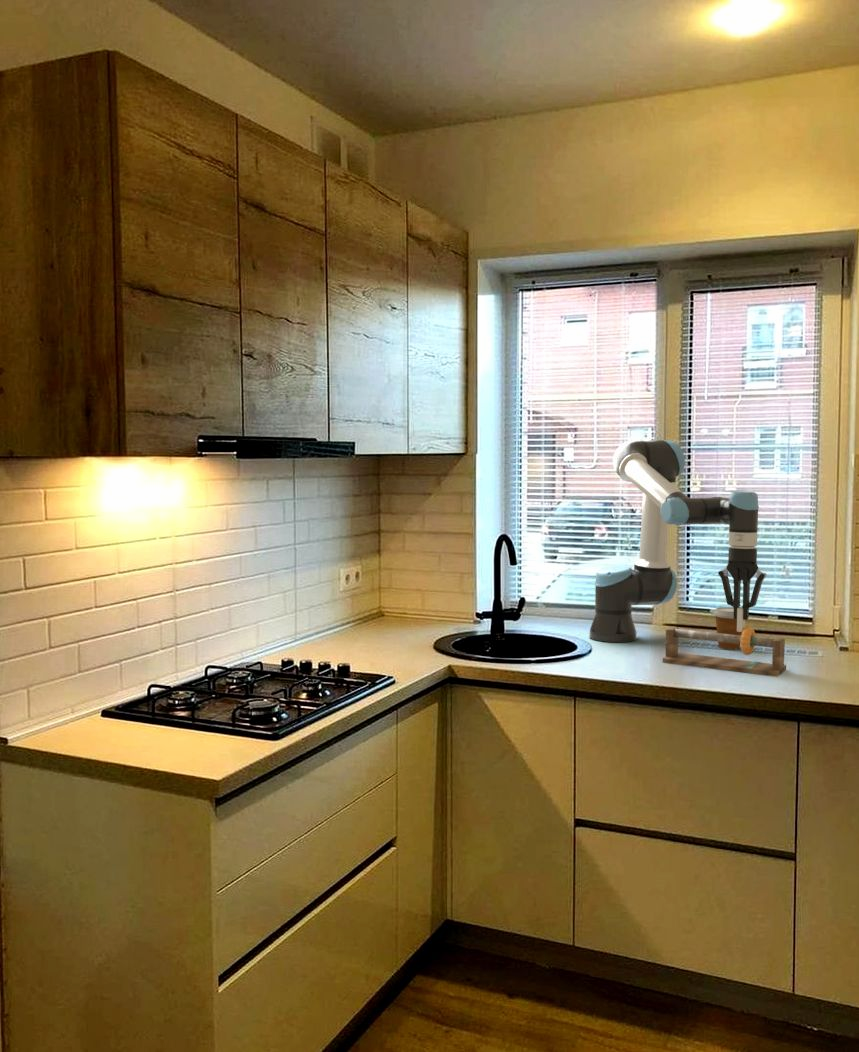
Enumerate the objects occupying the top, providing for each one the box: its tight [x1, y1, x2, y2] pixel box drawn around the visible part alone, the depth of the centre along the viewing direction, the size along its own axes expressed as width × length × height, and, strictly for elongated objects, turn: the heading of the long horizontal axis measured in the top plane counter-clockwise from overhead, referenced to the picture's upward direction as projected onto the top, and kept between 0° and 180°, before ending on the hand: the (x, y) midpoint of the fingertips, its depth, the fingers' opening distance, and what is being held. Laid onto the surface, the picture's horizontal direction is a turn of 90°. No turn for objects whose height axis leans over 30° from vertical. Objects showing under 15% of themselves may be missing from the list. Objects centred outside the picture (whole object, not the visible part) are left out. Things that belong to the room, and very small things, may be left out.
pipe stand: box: [661, 626, 787, 677], centre depth 266 cm, size 32×10×9 cm, turn 56°
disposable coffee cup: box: [713, 606, 742, 650], centre depth 292 cm, size 10×10×12 cm
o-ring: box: [740, 626, 756, 656], centre depth 262 cm, size 3×8×8 cm, turn 147°
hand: (740, 630), depth 263 cm, fingers closed
